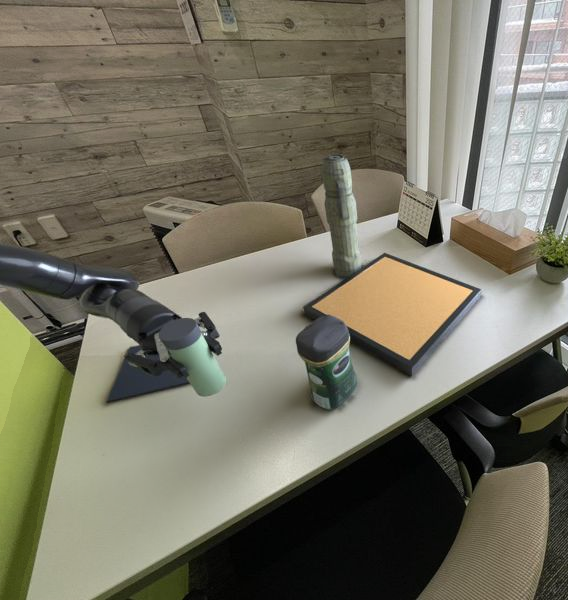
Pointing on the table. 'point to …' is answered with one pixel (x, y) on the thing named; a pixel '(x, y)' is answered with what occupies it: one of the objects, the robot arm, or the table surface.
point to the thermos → (341, 215)
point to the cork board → (397, 309)
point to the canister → (193, 355)
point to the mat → (141, 380)
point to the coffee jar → (327, 361)
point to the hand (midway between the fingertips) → (202, 361)
